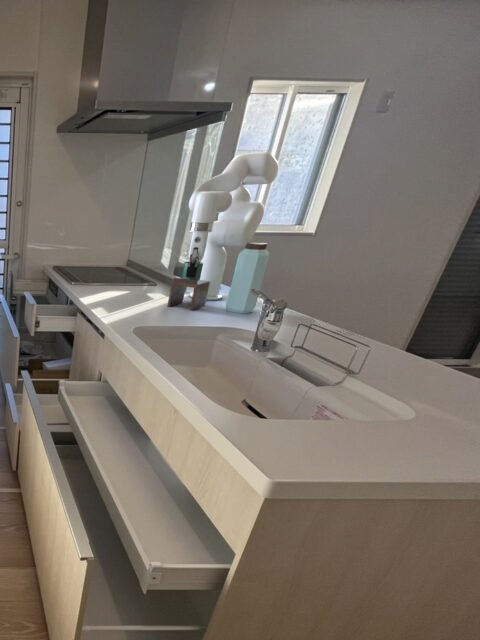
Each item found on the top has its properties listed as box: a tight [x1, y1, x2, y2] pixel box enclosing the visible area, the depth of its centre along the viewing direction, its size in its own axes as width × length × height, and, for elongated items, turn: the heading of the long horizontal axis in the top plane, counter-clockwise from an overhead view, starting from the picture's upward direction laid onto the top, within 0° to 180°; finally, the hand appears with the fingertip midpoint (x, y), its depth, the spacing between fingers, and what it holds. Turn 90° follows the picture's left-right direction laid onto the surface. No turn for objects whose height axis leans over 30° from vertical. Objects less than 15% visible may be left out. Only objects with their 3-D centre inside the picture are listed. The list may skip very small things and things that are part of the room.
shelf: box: [166, 277, 210, 311], centre depth 165 cm, size 11×10×12 cm
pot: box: [181, 260, 203, 281], centre depth 161 cm, size 7×7×6 cm
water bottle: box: [225, 242, 270, 314], centre depth 155 cm, size 10×10×25 cm
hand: (191, 275), depth 162 cm, fingers closed on pot, 6 cm apart
